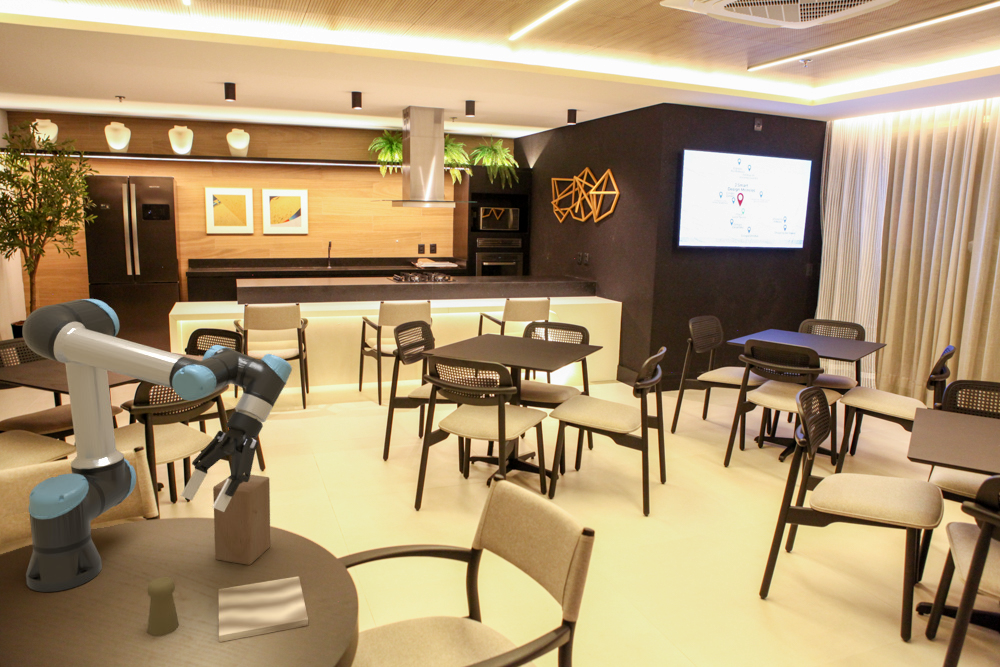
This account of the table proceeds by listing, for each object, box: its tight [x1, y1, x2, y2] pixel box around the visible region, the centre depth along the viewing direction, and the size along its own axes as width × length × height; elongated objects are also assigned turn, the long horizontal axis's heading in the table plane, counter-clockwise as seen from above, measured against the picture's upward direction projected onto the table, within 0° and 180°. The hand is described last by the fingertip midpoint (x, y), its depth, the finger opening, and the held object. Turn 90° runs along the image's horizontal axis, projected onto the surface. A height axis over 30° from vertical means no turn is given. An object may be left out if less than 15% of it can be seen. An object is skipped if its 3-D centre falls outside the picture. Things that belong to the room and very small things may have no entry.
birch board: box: [218, 576, 309, 643], centre depth 150 cm, size 18×18×2 cm
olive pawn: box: [147, 576, 180, 637], centre depth 141 cm, size 6×6×11 cm
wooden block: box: [212, 474, 271, 566], centre depth 171 cm, size 10×10×20 cm
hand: (201, 503), depth 147 cm, fingers open, 13 cm apart
